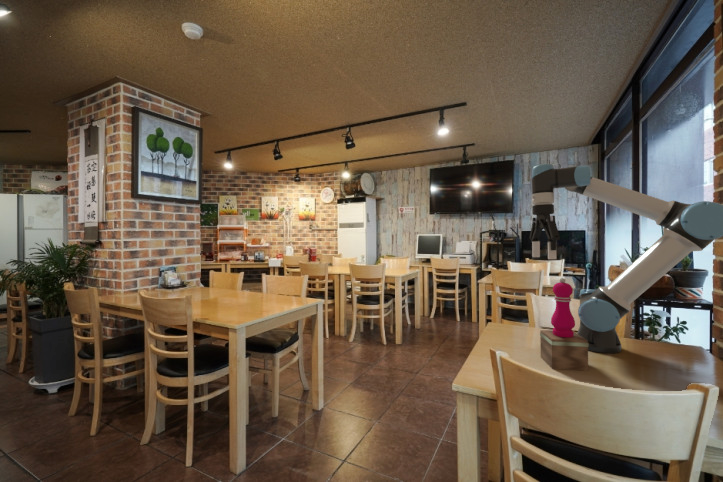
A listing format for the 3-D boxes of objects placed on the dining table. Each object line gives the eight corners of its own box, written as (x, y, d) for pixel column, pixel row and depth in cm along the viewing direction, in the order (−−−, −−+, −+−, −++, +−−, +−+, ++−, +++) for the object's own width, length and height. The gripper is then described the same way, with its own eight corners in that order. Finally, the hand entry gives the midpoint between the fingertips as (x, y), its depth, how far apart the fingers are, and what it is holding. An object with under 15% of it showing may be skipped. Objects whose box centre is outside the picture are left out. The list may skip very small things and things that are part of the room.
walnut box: (573, 358, 121) (573, 331, 120) (588, 370, 110) (588, 340, 109) (540, 356, 123) (540, 330, 122) (551, 368, 112) (551, 339, 111)
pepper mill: (578, 338, 112) (578, 279, 111) (555, 337, 113) (554, 279, 113) (570, 332, 119) (569, 276, 118) (548, 331, 120) (547, 276, 120)
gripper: (520, 207, 144) (521, 256, 144) (548, 201, 119) (549, 260, 119) (538, 207, 143) (539, 256, 143) (570, 200, 118) (571, 260, 118)
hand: (543, 258), depth 131 cm, fingers open, 13 cm apart
